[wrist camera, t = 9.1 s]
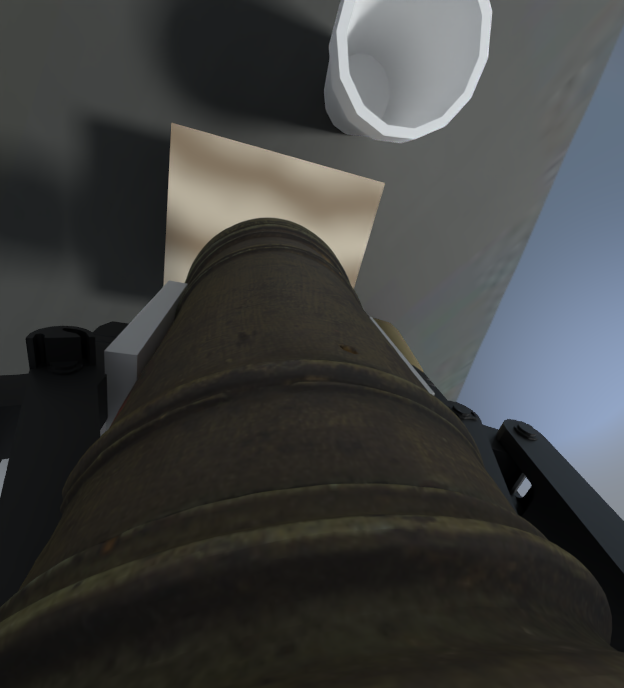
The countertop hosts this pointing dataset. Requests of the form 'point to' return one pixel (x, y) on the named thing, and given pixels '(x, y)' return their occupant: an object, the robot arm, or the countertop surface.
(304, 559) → the container
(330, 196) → the beige flat-topped legged fixture
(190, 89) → the countertop surface
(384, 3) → the foam cup
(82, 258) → the countertop surface
